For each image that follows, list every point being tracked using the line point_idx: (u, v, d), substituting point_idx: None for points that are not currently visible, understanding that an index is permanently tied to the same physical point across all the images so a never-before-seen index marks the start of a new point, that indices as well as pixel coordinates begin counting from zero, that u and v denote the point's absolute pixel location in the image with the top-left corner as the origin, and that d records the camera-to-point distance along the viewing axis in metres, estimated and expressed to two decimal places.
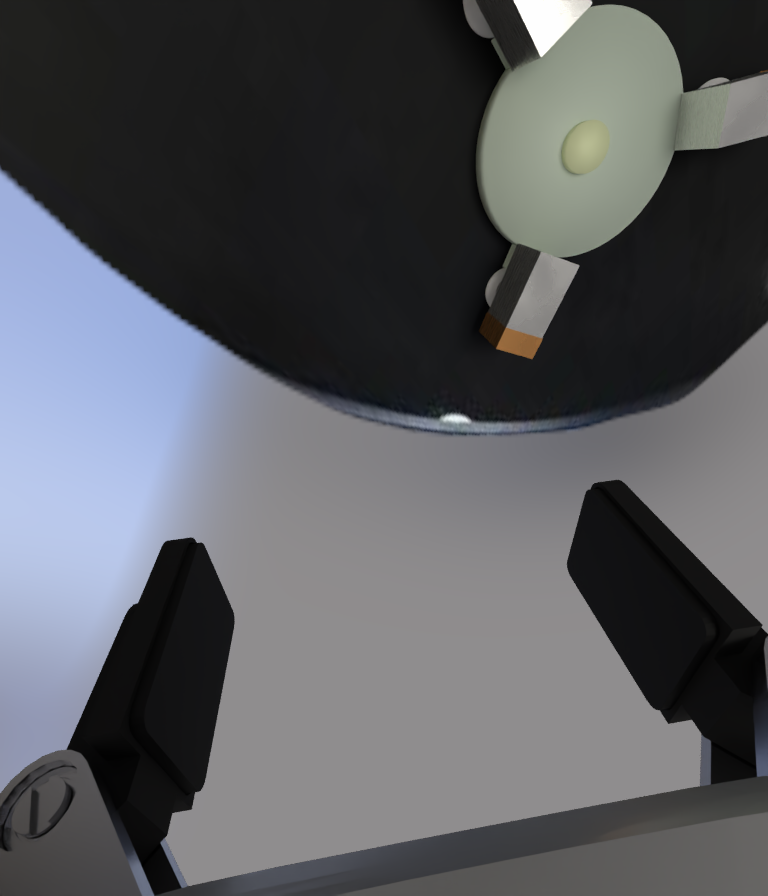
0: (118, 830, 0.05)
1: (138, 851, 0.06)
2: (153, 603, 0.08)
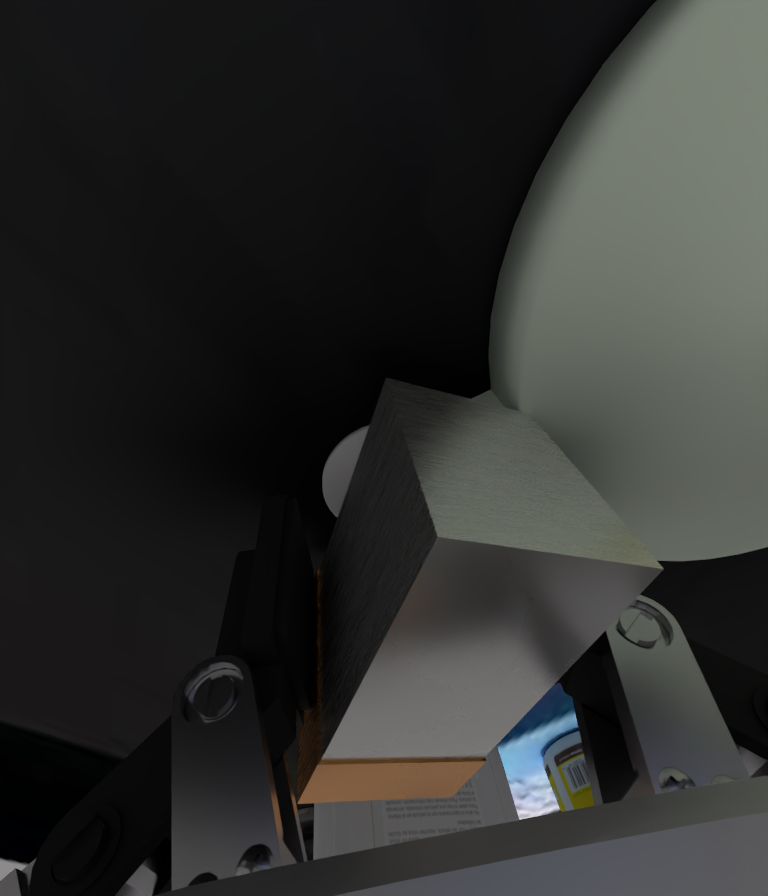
0: (265, 747, 0.06)
1: (278, 746, 0.07)
2: (270, 544, 0.09)
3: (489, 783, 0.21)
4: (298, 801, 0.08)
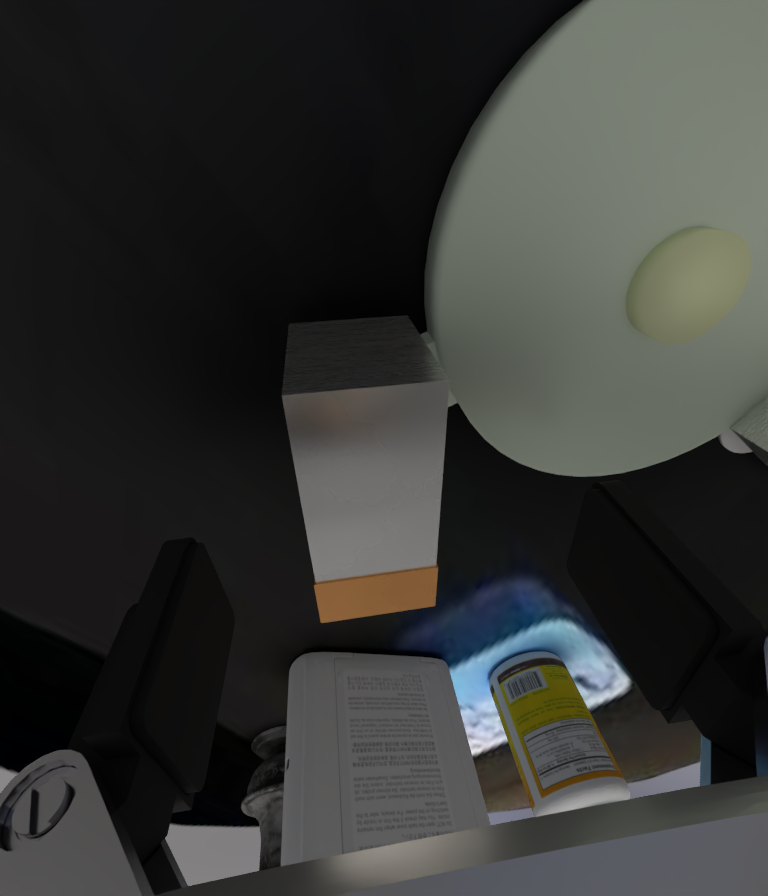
0: (119, 830, 0.05)
1: (139, 850, 0.06)
2: (153, 603, 0.08)
3: (438, 689, 0.25)
4: None
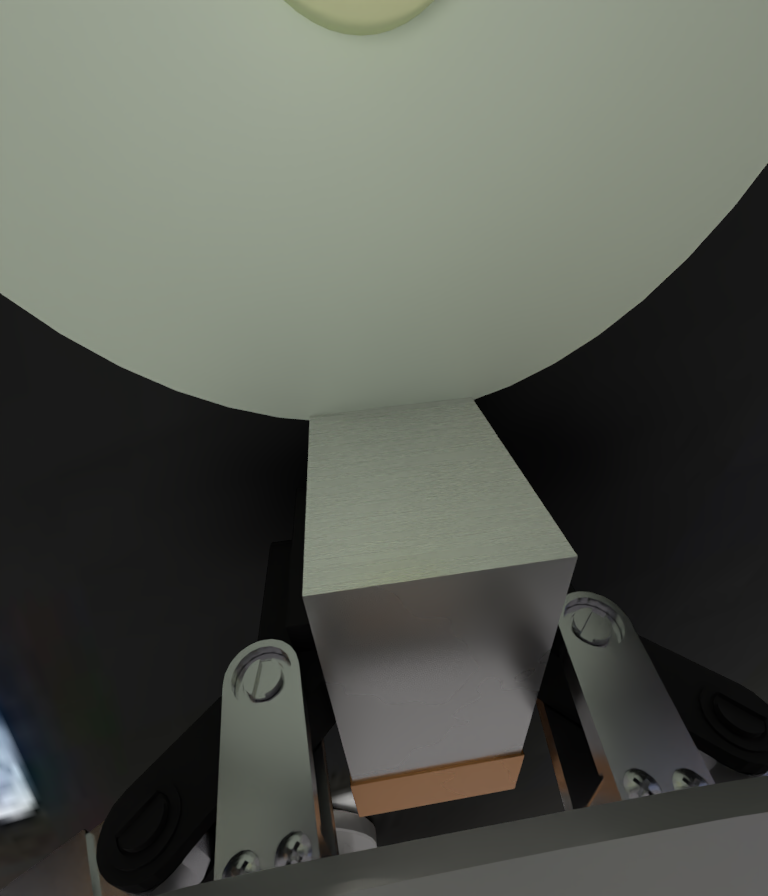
0: (308, 735, 0.06)
1: (320, 729, 0.08)
2: None
3: None
4: None
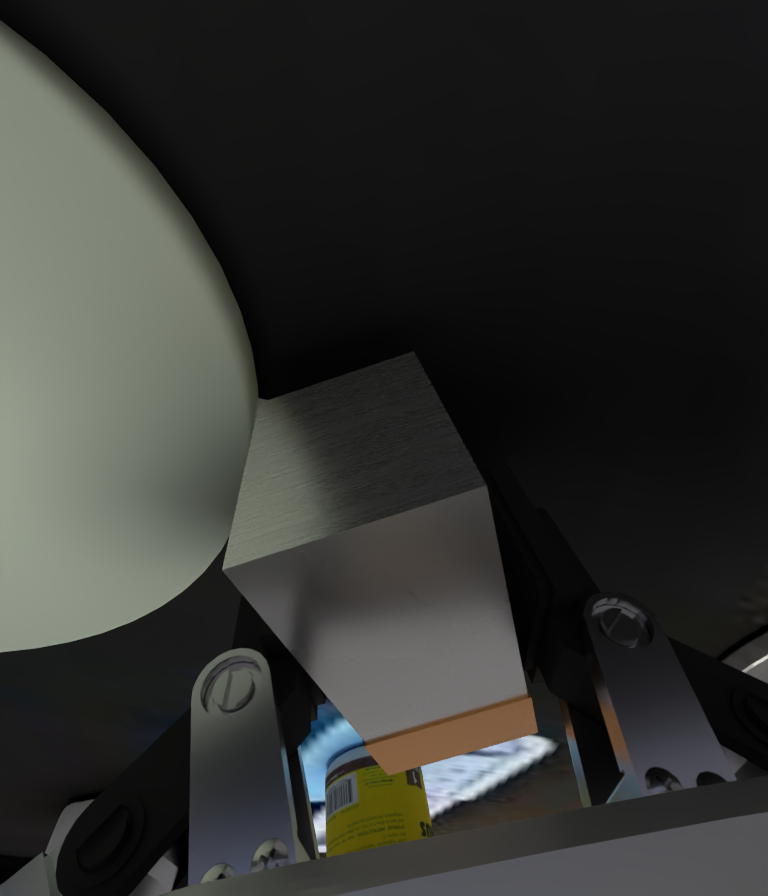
0: (281, 742, 0.06)
1: (294, 739, 0.07)
2: None
3: None
4: None
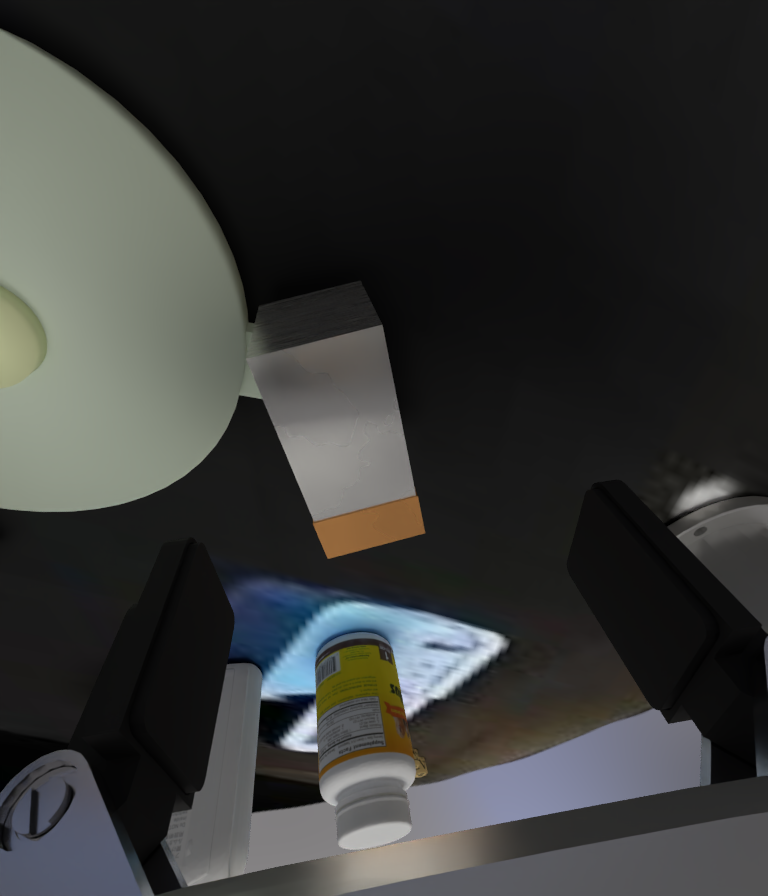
0: (118, 830, 0.05)
1: (139, 849, 0.06)
2: (153, 603, 0.08)
3: (224, 694, 0.26)
4: None
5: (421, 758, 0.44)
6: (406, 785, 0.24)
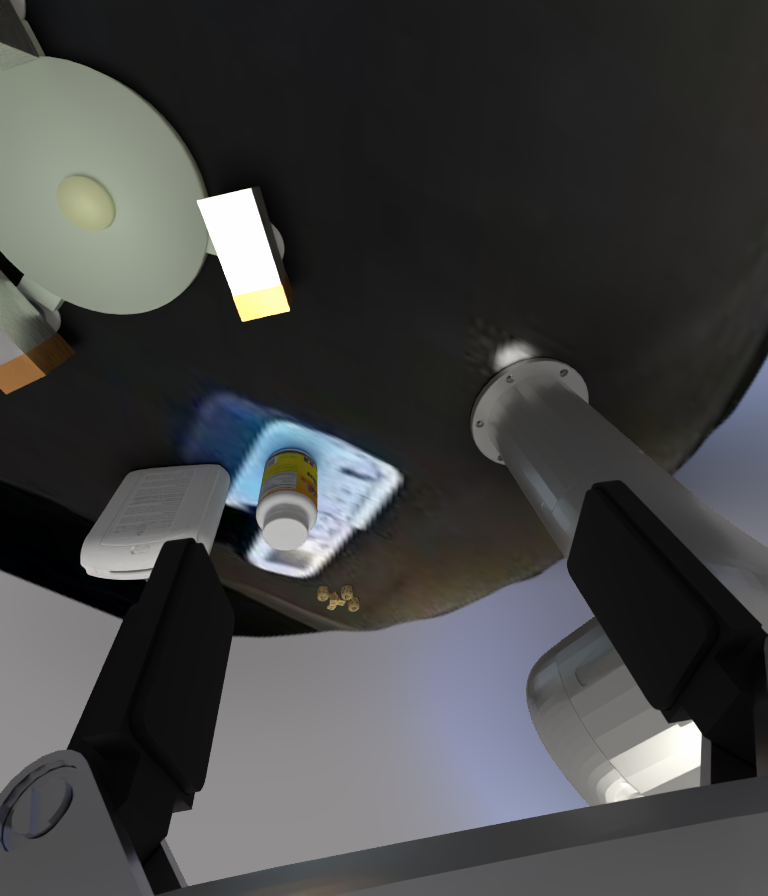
0: (118, 830, 0.05)
1: (139, 850, 0.06)
2: (153, 603, 0.08)
3: (203, 475, 0.42)
4: (5, 393, 0.31)
5: (355, 598, 0.59)
6: (309, 519, 0.39)
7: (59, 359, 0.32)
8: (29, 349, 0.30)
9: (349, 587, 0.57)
